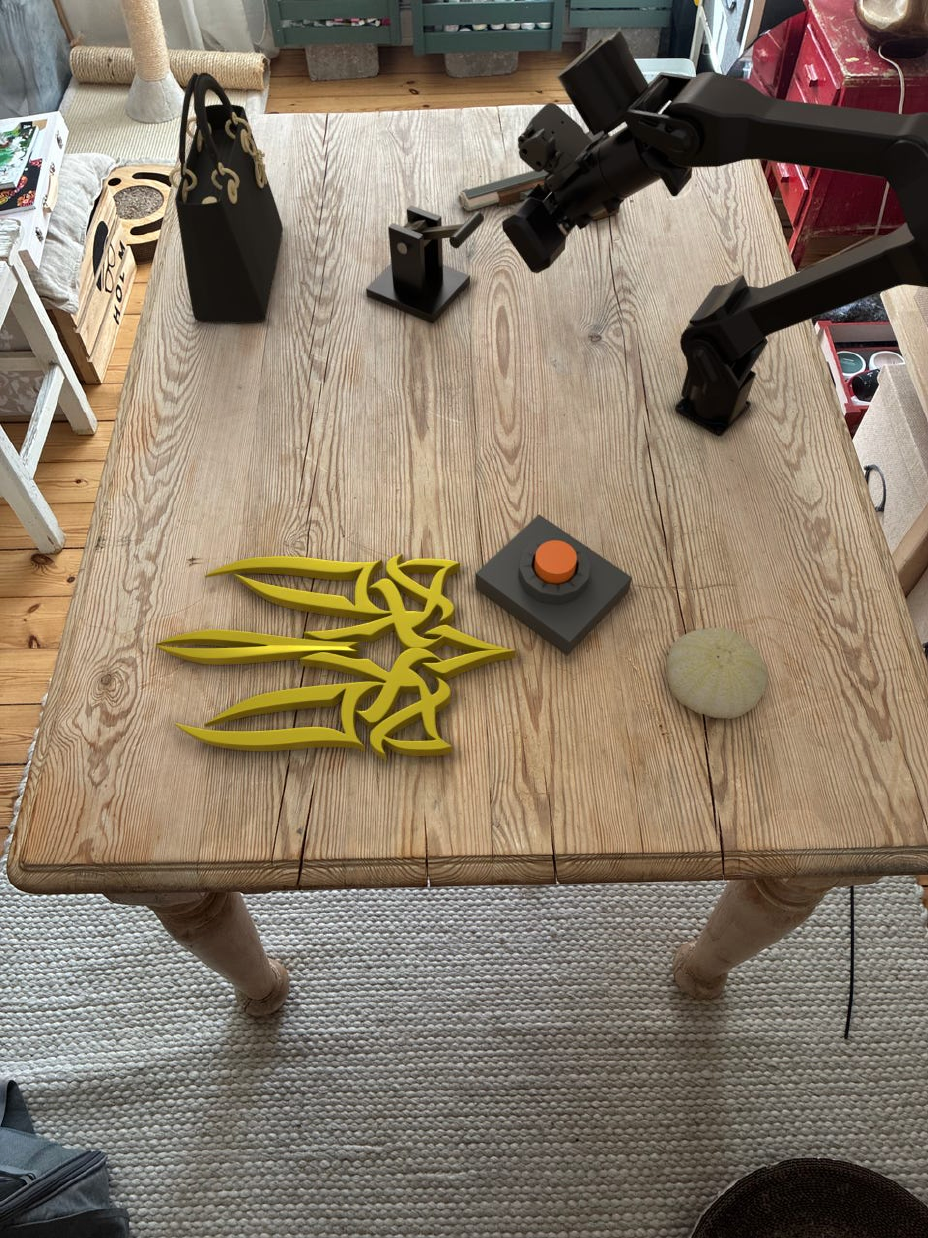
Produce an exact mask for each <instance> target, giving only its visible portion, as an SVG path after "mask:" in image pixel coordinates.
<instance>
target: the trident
mask: <svg viewBox="0 0 928 1238" xmlns="http://www.w3.org/2000/svg"><path fill="white" fill-rule="evenodd" d="M383 563H384V562H383V559H378V560H376V561H368V562H367V561H365V562H361V561H360V562H358V561H357V562H356V561H355V562H354V561H337V560H329V559H322V558H313V557H306V556H293V555H291V556H290V555H289V556H287V555H276V556H274V555H273V556H258V557H250V558H249V557H248V558H244V559H240V560H237V561H233V562H229V563H228V564H225V565H223V566H221V567H218V568H216V569H214V570H212V571H210V572H208V573H206V574H205V575H204V578H205V579H207V578H211V577H219V576H227V575H233V576H234V578H235V579H236V580H237V581H238V582H240V583H241V584H243V585H244V586H245V587H246V588H248V589H249V590H250V591H252V592H253V593H254V594H256V595H257V596H259V597H261V598H262V599H264V600H265V601H267V602H269V603H272V604H274V605H277V606H280V607H284V608H286V609H292V610H296V611H300V612H305V613H311V614H317V615H324V616H330V617H336V618H337V617H338V618H345V619H353V620H360V621H367V622H366V623H362V624H358V625H352V626H348V627H341V628H335V629H329V630H316V631H315V630H314V631H313V630H312V631H303V636H304V638H299V637H288V636H280V635H273V634H267V633H259V632H251V631H243V630H232V629H202V630H201V629H200V630H195V631H189V632H185V633H181V634H178V635H174V636H170V637H167V638H166V639H163V640H161V641H159V642H157V643H155V646H156V647H157V648H158V649H159V650H161V651H162V652H164V653H165V654H168V655H171V656H172V657H173V656H174V657H176V658H178V659H182V660H185V661H189V662H192V663H196V664H203V665H215V666H216V665H218V666H219V665H221V666H222V665H224V666H225V665H227V666H229V665H243V664H245V665H246V664H259V663H270V662H282V661H294V660H299V662H300V665H301V667H305V668H315V669H321V670H330V671H334V672H339V673H343V674H347V675H351V676H354V677H358V678H360V679H364V680H366V681H357V682H348V683H346V682H345V683H336V684H323V685H322V684H321V685H313V686H304V687H303V686H302V687H296V688H288V689H282V690H275V691H270V692H266V693H262V694H258V695H257V694H256V695H255V696H251V697H248V698H246V699H244V700H242V701H240V702H238V703H235V705H232V706H231V707H229V708H227V709H225V710H224V711H222V712H221V713H219V714H218V715H216V716H215V717H213V718H211V719H210V720H208V721H207V722H205V723H204V724H203V726H204V727H205V728H206V729H204V728H198V727H193V726H188V725H185V724H181V723H177V722H174V721H173V722H172V723H173V724H174V726H176V727H177V728H178V729H179V730H180V731H182V732H183V733H185V734H186V735H188V736H189V737H192V738H194V739H195V740H197V741H199V742H202V743H203V744H206V745H210V746H213V747H216V748H222V749H227V750H228V749H229V750H236V751H237V750H238V751H245V752H279V751H280V752H281V751H292V750H303V749H304V750H305V749H318V748H342V749H343V748H344V749H355V750H359V751H362V752H364V753H366V747H365V745H364V744H363V743H362V742H361V741H360V740H359V738H358V735H357V732H356V718H357V719H358V720H359V721H360V722H361V723H362V724H364V725H365V726H366V727H367V728H368V729H369V730H371V731H370V734H369V743H370V748H371V750H372V752H373V753H374V754H375V755H376V756H377V757H378V758H380V759H381V760H383V761H385V762H387V761H388V757H387V753H386V752H385V751H384V748H385V747H386V748H387V749H388V750H390V751H392V752H394V753H396V754H399V755H401V756H402V755H403V756H408V757H441V756H446V755H449V754H453V746H452V745H451V744H449V743H448V742H446V741H445V740H443V739H442V738H441V737H440V736H439V733H438V730H437V714H438V713H440V711H443V710H444V709H445V708H446V707H447V706H449V705H450V703H451V701H452V690H451V687H450V686H449V685H448V683H447V682H446V681H448V680H450V679H451V678H454V677H457V676H459V675H462V674H464V673H466V672H469V671H472V670H474V669H478V668H479V667H483V666H485V665H488V664H492V663H497V662H500V661H506V660H512V659H515V658H516V655H517V650H515V649H512V648H506V647H503V646H499V645H495V644H492V643H489V642H486V641H484V640H480V639H479V638H476V637H474V636H471V635H469V634H467V633H464V632H462V631H461V630H458V629H456V628H453V627H452V626H450V624H451V623H452V622H453V621H454V620H455V617H456V607H455V604H454V603H453V602H452V600H451V601H450V599H449V598H447V597H445V596H444V595H443V594H444V590H445V589H444V587H445V585H446V582H447V580H448V579H449V578H450V577H451V576H453V575H456V574H457V573H460V572H461V562H459V561H455V560H451V559H444V558H443V559H442V558H415V559H410V560H407V561H405V562H404V556H403V553H400V554H397V555H395V556H392V557H391V558H390V559H388V561H387V562H386V564H385V575H386V578H381V579H379V580H377V582H375V583H373V584H372V582H373V579H374V578H375V576H376V574H377V573H379V572H380V571H381V570H383V569H384V564H383ZM239 574H270V575H285V576H295V577H303V578H309V579H310V578H311V579H319V580H324V581H325V580H326V581H337V582H341V581H342V582H344V581H345V582H346V581H353V580H356V582H355V584H354V585H355V586H354V604H353V603H352V602H351V601H350V600H349V599H348V598H347V597H346V596H344V595H337V594H328V593H327V594H326V593H319V592H314V591H313V592H312V591H306V590H300V589H295V588H288V587H283V586H278V585H272V584H268V583H265V582H260V581H257V580H254V579H251V578H248V577H245V576H242V575H239ZM411 574H430V575H434V576H433V578H432V580H431V583H430V586H429V588H426V586H425V587H424V586H423V585H421V584H419V583H418V582H416V581H414V580H413V579H411V578H410V577H408V576H407V575H411ZM371 584H372V585H371ZM401 593H402V594H403V595H405V596H407V597H408V598H410V599H412V600H413V601H415V602H417V603H418V604H421V605H423V606H425V607H424V610H423V611H418V610H417V611H415V610H407V608H406V607H405V604H404V601H403V598H402V595H401ZM369 596H370V597H379V598H381V600H382V601H383V603H384V604H385V606H386V608H387V610H383V609H380V608H379V607H377V606H376V605H375V604H374V603H373V602H372V601H371V600H370V598H369ZM437 614H439V615H440V616H441V618H440V619H439V620H438V626H436V627H434V628H432V629H430V630H428V631H425V632H424V633H423V637H422V636H420V635H418V634H419V633H421V632H422V631H423V630H424V629H426V628H427V627H428V626H429V625H430V624H431V623H432V621H433V619H435V616H437ZM392 632H395V635H396V639H397V641H398V644H399V645H400V648H401V649H402V650H403V652H401V653H400V654H399V656H398V657H397V658H396V659H395V662H394V663H393V665H392V667H391V669H390V671H389V672H388V671H387V670H384V669H383V668H382V667H381V666H379V665H377V664H376V663H375V662H374V661H372V660H371V659H369V658H360V655H359V651H360V650H361V647H360V646H361V645H360V643H369V644H372V643H375V642H376V641H378V640H379V639H381V638H383V637H384V636H386V635H388V634H391V633H392ZM175 645H176V646H177V645H197V646H198V645H199V646H200V645H202V646H214V647H213V648H208V647H207V648H197V647H196V648H195V647H194V648H193V647H192V648H191V647H172V646H175ZM444 645H445V646H449V647H451V648H454V649H457V650H459V651H462V652H465V653H466V654H461V655H458V656H455V657H452V658H448V659H445V660H442V659H441V658H439V657H438V656H437V655H435V654H434V653H433V652H435V651H437V650H438V649H439V648H441V647H443V646H444ZM215 646H216V648H215ZM217 646H218V647H217ZM420 667H421V670H422V672H424V673H426V674H427V675H429V676H431V677H432V678H435V685H436V686H437V691H436V692H435V693H433V694H432V693H431V691H430V689H429V687H428V685H427V683H426V681H425V680H424V679H423V678H422V677H421V676H420V675H419V674H418V673H417V672H415V671H416V670H418V669H419V668H420ZM375 694H378V695H377V697H376V699H375V700H374V702H373V703H372V704H371V706H369V708H368V709H365V710H361V711H360V710H359V708H360V706H361V705H362V703H364V702H365V701H366V700H367V699H369V698H370V697H372V696H374V695H375ZM402 694H407V695H408V694H409V695H411V694H419V698H420V700H419V701H416V702H415V703H413V704H411V705H408V706H407V707H404V708H402V709H400V710H399V711H396V712H395V713H393V711H394V710H395V708H396V705H397V703H398V701H399V699H400V697H401V695H402ZM340 702H341V707H340V708H341V709H340V720H341V725H342V728H343V732H342V731H339V730H336V729H334V728H329V727H322V726H307V727H306V726H305V727H293V728H281V729H271V730H270V729H269V730H255V731H254V730H253V731H252V730H251V731H249V730H248V731H237V730H236V731H235V730H233V731H230V730H214V729H207V728H210V727H213V726H217V725H220V724H224V723H227V722H231V721H234V720H238V719H243V718H247V717H253V716H259V715H267V714H272V713H281V712H288V711H296V710H304V709H305V710H307V709H317V708H318V709H319V708H332V707H335V706H336V705H338V704H339V703H340ZM392 713H393V714H392ZM420 720H421V721H422V725H423V730H424V733H425V736H426V738H427V740H398V739H392V737H394V735H396V734H397V733H399V732H401V731H402V730H403V729H405V728H407V727H409V726H410V725H413V724H415V723H416V722H418V721H420Z"/></svg>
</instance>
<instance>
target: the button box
mask: <svg viewBox="0 0 928 1238" xmlns="http://www.w3.org/2000/svg"><path fill="white" fill-rule="evenodd" d="M553 540H558V541H563V542H565V543H567V544H569V545H570V546H571V547H572V548H573V549H574V550H575V552H576V555H577V562H576V568H575V572H574V575H573V576H572V577H571V578H570V579H569V580H568V581H566V582H563V583H560V584H552V583H548V582H546V581H544V580H542V579H541V578H540V577H539V576H538V575H537V573H536V571H535V556H536V551H537V549H538V548H539V547H540V546H541V545H542V544H544V543H545V542H548V541H553ZM474 577H475V579H474V580H475V581H474V583H475V585H474V586H475V588H474V589H476V590H477V591H478V592H480V593H481V594H482V595H484V596H485V597H487V598H488V599H489V600H491V601H492V602H493V603H495V604H496V605H497V606H498V607H500V608H501V609H503V610H504V611H505V612H507V613H508V614H510V615H511V616H512V617H514V618H515V619H516V620H518V621H519V622H520V623H522V624H523V625H524V626H526V627H527V628H528V629H530V630H531V631H532V632H534V633H535V634H536V635H538V636H539V637H541V638H542V639H543V640H545V641H546V642H547V643H549V644H550V645H552V646H553V647H554V648H555V649H557V650H558V651H559V652H561V653H562V654H564V655H565V656H567V657H568V656H569V655H570V654H571V653H572V652H573V651H574V650H575V649H576V648H577V647H578V645H580V644H581V643H582V642H583V640H584V639H585V638H586V637H588V635H589V634H590V633H591V632H592V631H593V630H594V629H595V627H597V626H598V625H599V624H600V623H601V622H602V621H603V620H604V619H605V618H606V617H607V616H608V614H609V613H611V611H612V610H614V608H615V607H616V606H617V605H618V604H619V603H620V602H621V601H622V600H623V599H624V597H626V596H627V595H628V593H629V592H630V588H631V584H632V580H633V577H632V576H631V575H629V574H628V573H627V572H625V571H624V570H622V569H621V568H619V567H617V566H616V565H615V564H613V563H612V562H610V561H609V560H607V559H606V558H604V557H603V556H601V555H600V554H598V553H597V552H596V551H594V550H593V549H592V548H590V547H588V546H587V545H585V544H583V543H582V542H581V541H579V540H578V539H576V538H575V537H573V536H572V535H570V534H569V533H567V532H566V531H565V530H563V529H562V528H560V527H559V526H557V525H556V524H554V523H553V522H552V521H550V520H549V519H547V518H545V517H544V516H542V515H541V514H537V515H536V517H534V518H533V519H532V520H531V521H530V522H529V523H528V524H527V525H525V527H524V528H523V529H522V530H520V531H518V533H517V534H516V535H515V536H514V537H513V538H512V539H511V540H509V541H508V542H507V543H506V544H505V545H504V546H503V547H502V548H500V550H498V552H497V553H495V554H494V555H493V557H491V558H490V559H489V560H488V561H487V562H486V563H485V564H484V565H482V567H481V568H479V569H478V570H477V571H476V572H475V575H474Z"/></svg>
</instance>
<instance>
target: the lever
mask: <svg viewBox="0 0 928 1238" xmlns="http://www.w3.org/2000/svg"><path fill="white" fill-rule="evenodd" d="M484 221H485V216H484V214H483V213H482V212H480V211H478V210H477V211H475V212H473V213H472V214H471V215H470V217H469V218H467V220H465V222H464V223H457V224H448V225H442V226H439V227H429V228H428V226H427V223H426V221H425V220H421V221H412V222H408V223H405V224H404V225H403V227H404V228H407V229H409V230H412V231H415V232H417V233H420V234H422V235H423V238H424V247H425V246H426V245H427V244H428V243H429V242H430V241H431V240H432V239H442V240H443V239H449V240H448V241H449V244H450V246H451V247H452V248H453V249H459V248H460V247H461V246H463V244H464V243H465V242H466V241H467V240H468V239H469V238H470V237H471V236H472V235H473V233H474V232H475V231H476V230H477V229H478V228H479V227H480V226H482V224H483V223H484Z"/></svg>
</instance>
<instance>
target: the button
mask: <svg viewBox="0 0 928 1238" xmlns="http://www.w3.org/2000/svg"><path fill="white" fill-rule="evenodd" d="M576 562H577V555H576V552H575V550H574V549H573V548H572V547H571V546H570V545H569V544H567V543H565V542H563V541H558V540H553V541H548V542H545V543H544V544H542V545H541V546H540V547H539V548H538V549H537V551H536V556H535V571H536V573H537V575H538V576H539V577H540V578H541V579H542V580H544V581H546V582H548V583H552V584H560V583H563V582H566V581H568V580H569V579H570V578H571V577H572V576H573V575H574V572H575V568H576Z"/></svg>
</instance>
